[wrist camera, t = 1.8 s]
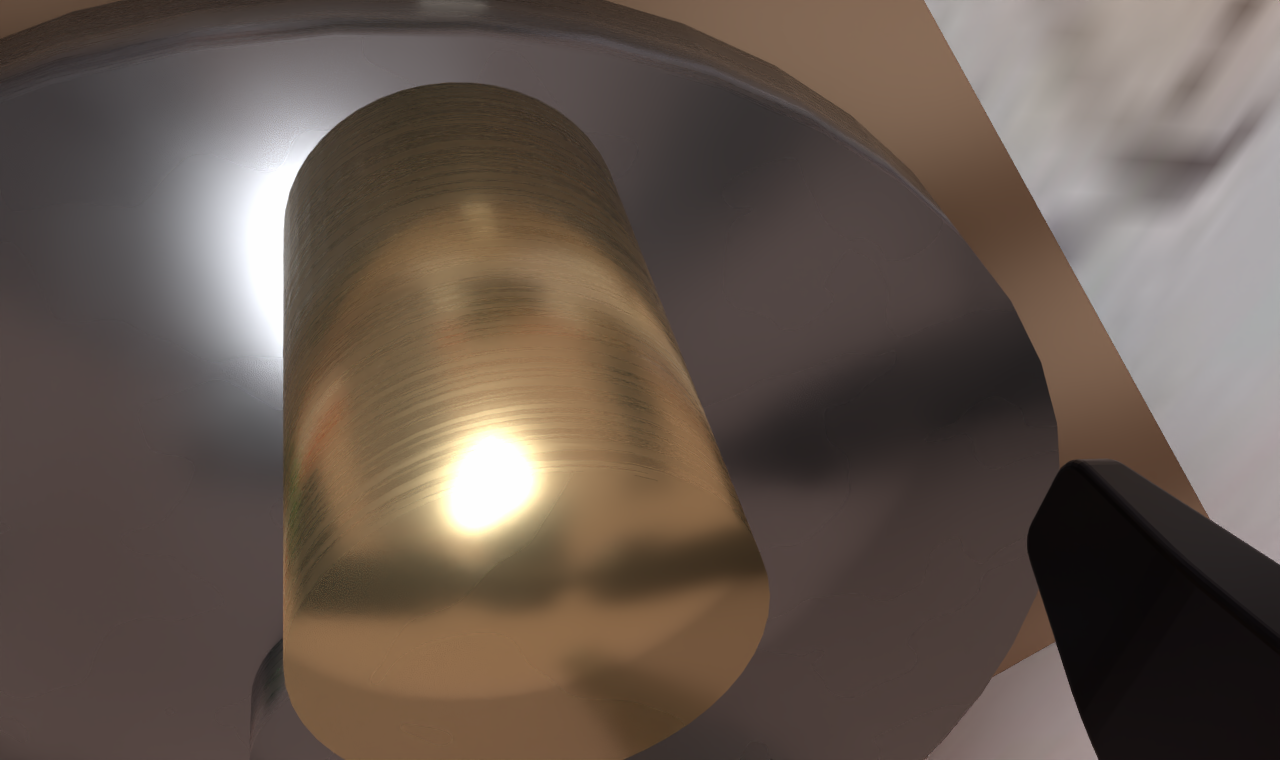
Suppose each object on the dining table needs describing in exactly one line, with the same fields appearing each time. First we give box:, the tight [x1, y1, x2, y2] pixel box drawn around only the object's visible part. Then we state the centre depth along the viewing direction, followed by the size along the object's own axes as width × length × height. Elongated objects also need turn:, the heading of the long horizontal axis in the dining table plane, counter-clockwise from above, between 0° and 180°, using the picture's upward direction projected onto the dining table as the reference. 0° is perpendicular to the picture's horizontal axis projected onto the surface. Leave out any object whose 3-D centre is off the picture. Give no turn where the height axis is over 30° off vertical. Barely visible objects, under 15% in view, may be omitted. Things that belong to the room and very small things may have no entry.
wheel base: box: [0, 0, 1209, 677], centre depth 18 cm, size 20×20×3 cm
